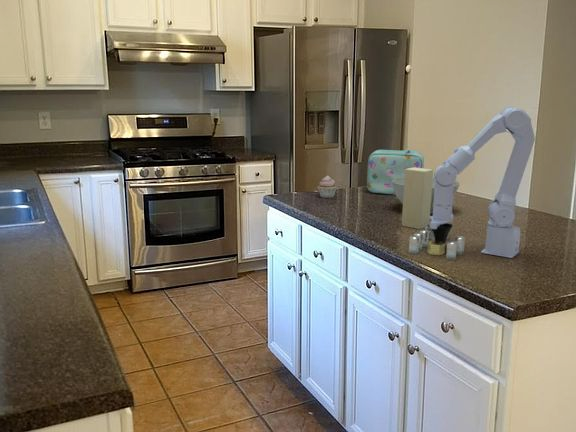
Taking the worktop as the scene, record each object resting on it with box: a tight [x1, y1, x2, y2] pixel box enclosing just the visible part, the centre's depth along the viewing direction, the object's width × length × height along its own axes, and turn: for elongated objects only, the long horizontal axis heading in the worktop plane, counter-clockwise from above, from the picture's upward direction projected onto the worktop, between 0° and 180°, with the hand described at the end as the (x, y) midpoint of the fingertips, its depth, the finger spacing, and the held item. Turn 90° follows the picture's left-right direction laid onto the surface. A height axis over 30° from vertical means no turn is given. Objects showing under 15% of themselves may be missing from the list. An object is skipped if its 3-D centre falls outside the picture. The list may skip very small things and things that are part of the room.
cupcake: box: [316, 175, 339, 199], centre depth 260 cm, size 9×9×10 cm
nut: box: [426, 240, 446, 256], centre depth 176 cm, size 5×5×3 cm
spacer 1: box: [408, 235, 419, 255], centre depth 175 cm, size 3×3×5 cm
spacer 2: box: [413, 232, 423, 251], centre depth 179 cm, size 3×3×5 cm
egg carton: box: [423, 222, 450, 241], centre depth 195 cm, size 11×8×4 cm
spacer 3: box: [419, 229, 429, 248], centre depth 183 cm, size 3×3×5 cm
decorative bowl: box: [392, 176, 460, 215], centre depth 233 cm, size 27×27×12 cm
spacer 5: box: [454, 235, 466, 255], centre depth 175 cm, size 3×3×5 cm
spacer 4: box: [445, 240, 457, 261], centre depth 170 cm, size 3×3×5 cm
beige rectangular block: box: [401, 167, 434, 230], centre depth 207 cm, size 8×7×21 cm
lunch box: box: [366, 148, 426, 196], centre depth 267 cm, size 27×10×21 cm, turn 72°
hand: (440, 246), depth 179 cm, fingers closed
